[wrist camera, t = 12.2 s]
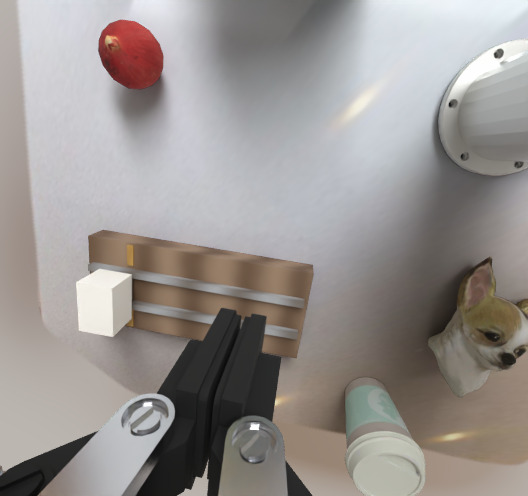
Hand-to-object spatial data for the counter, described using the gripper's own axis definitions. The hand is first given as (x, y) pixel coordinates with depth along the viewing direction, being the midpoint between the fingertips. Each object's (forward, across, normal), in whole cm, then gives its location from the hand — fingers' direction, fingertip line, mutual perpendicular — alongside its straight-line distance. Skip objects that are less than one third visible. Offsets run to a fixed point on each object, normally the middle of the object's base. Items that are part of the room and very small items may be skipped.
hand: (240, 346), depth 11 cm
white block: (+23, +19, +13) cm, 33 cm away
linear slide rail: (+27, +10, +13) cm, 32 cm away
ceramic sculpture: (+29, -24, +11) cm, 39 cm away
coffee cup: (+28, -15, +25) cm, 40 cm away
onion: (+27, +18, -13) cm, 35 cm away
